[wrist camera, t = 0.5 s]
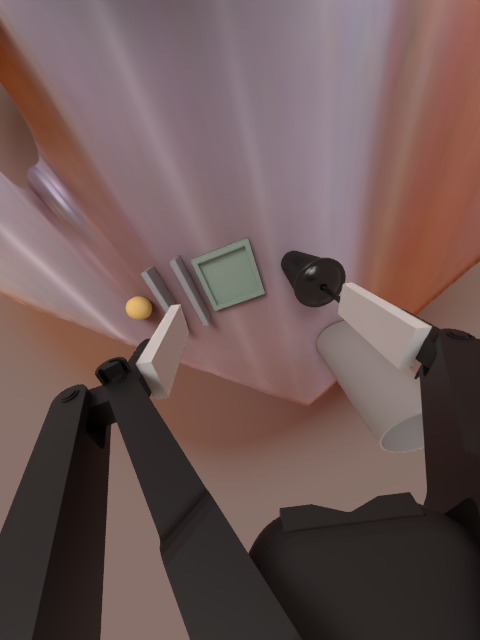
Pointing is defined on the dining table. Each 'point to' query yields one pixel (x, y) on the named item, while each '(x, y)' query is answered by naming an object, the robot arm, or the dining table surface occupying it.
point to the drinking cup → (313, 278)
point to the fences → (187, 284)
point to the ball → (138, 308)
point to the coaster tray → (229, 274)
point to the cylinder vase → (375, 388)
